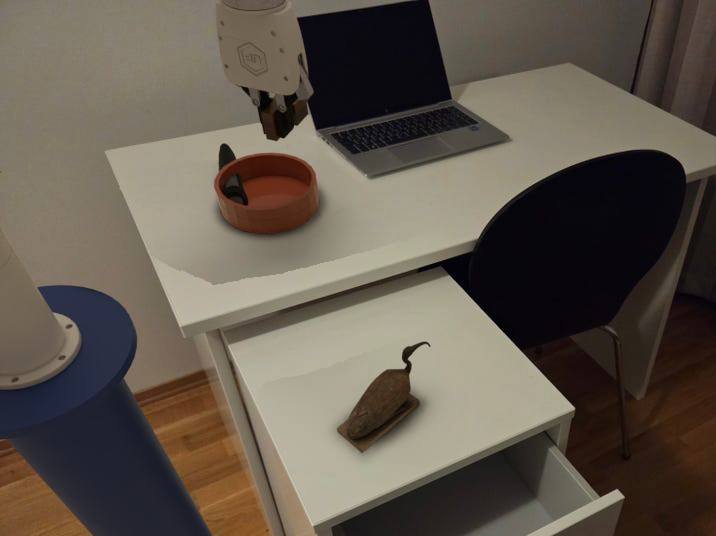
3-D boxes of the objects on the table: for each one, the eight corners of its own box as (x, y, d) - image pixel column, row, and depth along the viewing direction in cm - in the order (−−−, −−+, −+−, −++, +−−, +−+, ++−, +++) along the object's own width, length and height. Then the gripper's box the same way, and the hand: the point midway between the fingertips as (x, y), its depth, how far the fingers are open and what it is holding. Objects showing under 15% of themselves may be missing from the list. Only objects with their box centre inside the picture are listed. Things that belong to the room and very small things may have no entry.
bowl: (201, 219, 99) (193, 195, 96) (252, 168, 109) (246, 144, 106) (291, 243, 97) (287, 219, 94) (335, 188, 107) (332, 165, 104)
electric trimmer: (239, 157, 111) (235, 140, 109) (250, 208, 102) (245, 191, 99) (216, 160, 110) (212, 143, 108) (225, 212, 101) (220, 195, 98)
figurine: (416, 366, 83) (416, 320, 77) (442, 385, 82) (444, 339, 75) (336, 432, 76) (328, 388, 69) (362, 454, 74) (356, 410, 68)
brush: (283, 143, 88) (278, 116, 85) (259, 137, 89) (254, 110, 86) (310, 113, 94) (306, 87, 90) (287, 108, 94) (283, 82, 91)
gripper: (174, -11, 74) (214, 133, 88) (299, 13, 72) (319, 157, 86) (209, -33, 79) (241, 108, 93) (327, -10, 77) (341, 130, 91)
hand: (278, 130), depth 89 cm, fingers closed on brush
